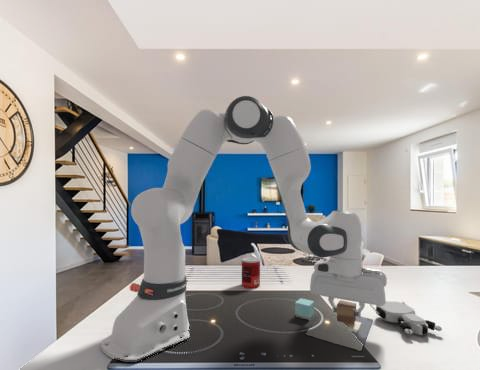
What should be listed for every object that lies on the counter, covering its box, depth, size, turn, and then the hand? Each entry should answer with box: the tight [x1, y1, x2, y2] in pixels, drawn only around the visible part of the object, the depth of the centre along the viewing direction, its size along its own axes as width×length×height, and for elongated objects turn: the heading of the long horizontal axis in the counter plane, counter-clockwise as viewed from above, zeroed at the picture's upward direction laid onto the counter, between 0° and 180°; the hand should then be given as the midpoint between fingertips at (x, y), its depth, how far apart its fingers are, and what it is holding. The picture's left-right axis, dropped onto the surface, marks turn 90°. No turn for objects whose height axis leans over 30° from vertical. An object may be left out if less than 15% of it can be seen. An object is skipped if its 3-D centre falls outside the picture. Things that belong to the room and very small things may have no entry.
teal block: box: [294, 297, 315, 318], centre depth 82 cm, size 4×4×4 cm
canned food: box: [241, 256, 261, 290], centre depth 111 cm, size 8×8×11 cm
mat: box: [335, 313, 374, 346], centre depth 75 cm, size 20×14×1 cm
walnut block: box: [336, 299, 357, 325], centre depth 77 cm, size 4×4×4 cm
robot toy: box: [369, 300, 443, 336], centre depth 77 cm, size 12×4×15 cm
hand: (346, 314), depth 76 cm, fingers closed on walnut block, 5 cm apart
